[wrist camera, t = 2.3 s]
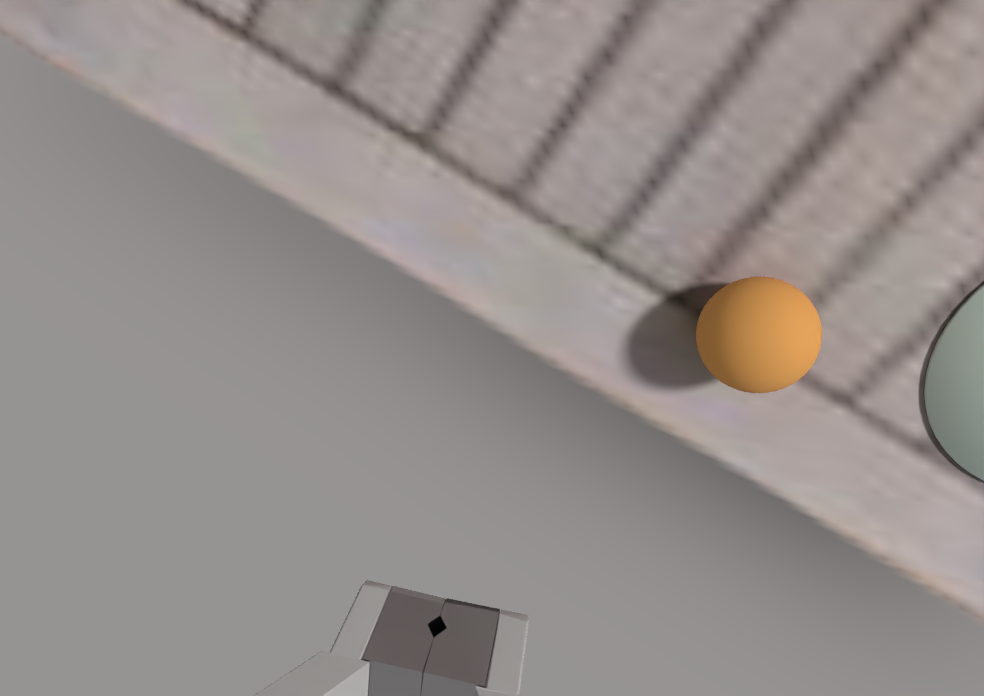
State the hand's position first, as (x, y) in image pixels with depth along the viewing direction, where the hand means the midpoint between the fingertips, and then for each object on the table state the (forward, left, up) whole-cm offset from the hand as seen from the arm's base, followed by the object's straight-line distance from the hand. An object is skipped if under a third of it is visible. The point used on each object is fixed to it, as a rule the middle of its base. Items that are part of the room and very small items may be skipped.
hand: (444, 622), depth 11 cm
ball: (+1, +9, -19) cm, 21 cm away
